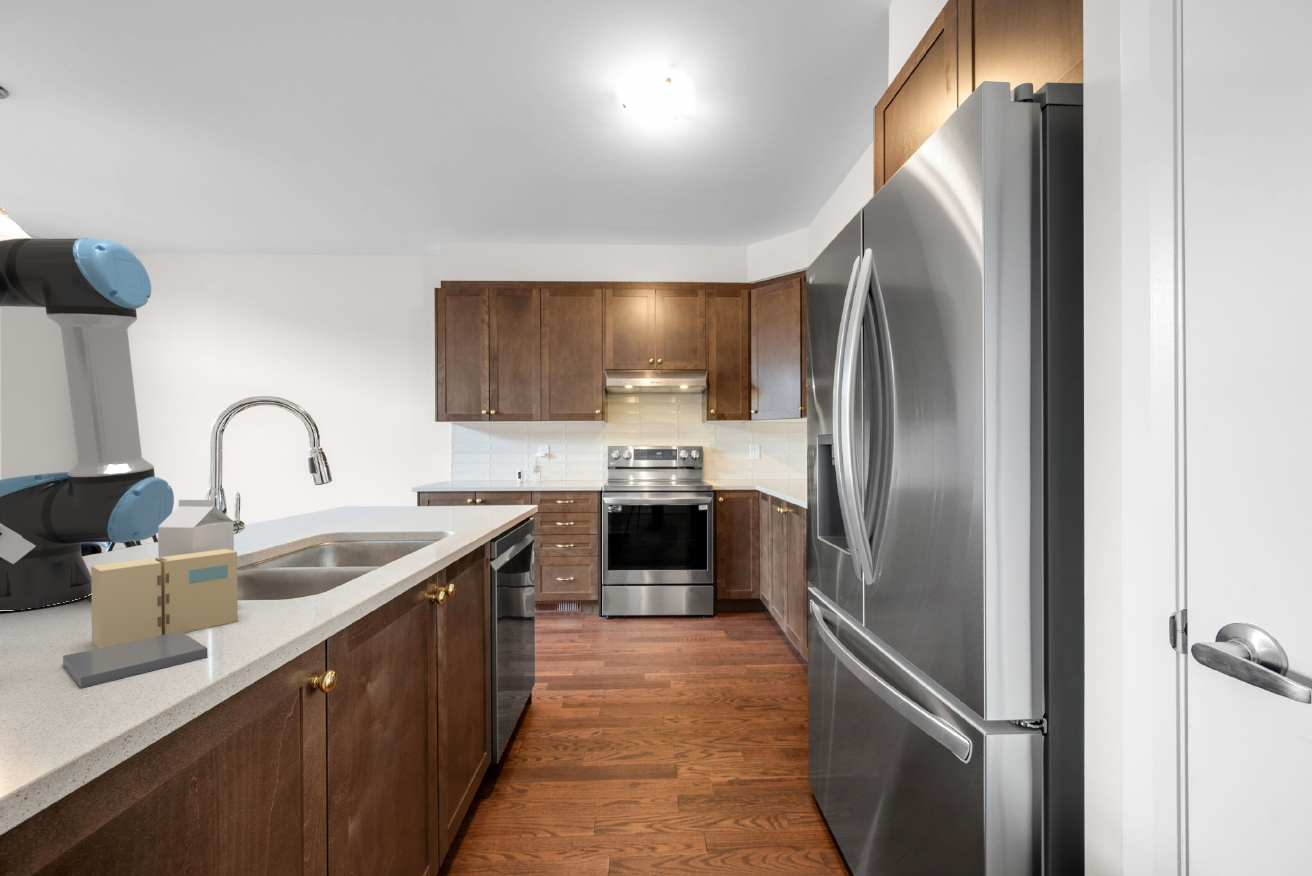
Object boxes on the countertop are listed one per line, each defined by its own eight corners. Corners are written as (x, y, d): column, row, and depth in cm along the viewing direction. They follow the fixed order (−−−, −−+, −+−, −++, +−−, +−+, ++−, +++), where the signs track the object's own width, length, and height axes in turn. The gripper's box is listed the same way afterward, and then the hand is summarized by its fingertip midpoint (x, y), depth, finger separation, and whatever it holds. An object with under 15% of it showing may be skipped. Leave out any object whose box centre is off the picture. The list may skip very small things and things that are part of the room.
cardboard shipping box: (156, 630, 89) (155, 557, 89) (226, 615, 96) (226, 548, 96) (165, 636, 86) (164, 561, 86) (237, 621, 93) (237, 551, 93)
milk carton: (194, 621, 93) (193, 502, 93) (158, 619, 94) (157, 502, 95) (234, 609, 100) (233, 497, 100) (200, 607, 101) (199, 497, 101)
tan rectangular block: (91, 643, 83) (91, 565, 83) (151, 631, 89) (150, 558, 89) (100, 651, 80) (100, 571, 80) (161, 638, 85) (161, 562, 85)
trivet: (63, 665, 75) (63, 655, 75) (180, 639, 84) (180, 631, 84) (80, 688, 67) (80, 677, 67) (207, 657, 77) (207, 648, 77)
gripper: (-214, 457, 70) (-21, 562, 81) (-248, 457, 54) (-4, 587, 66) (-139, 414, 74) (34, 520, 86) (-150, 403, 59) (62, 534, 70)
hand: (18, 549), depth 76 cm, fingers open, 13 cm apart
